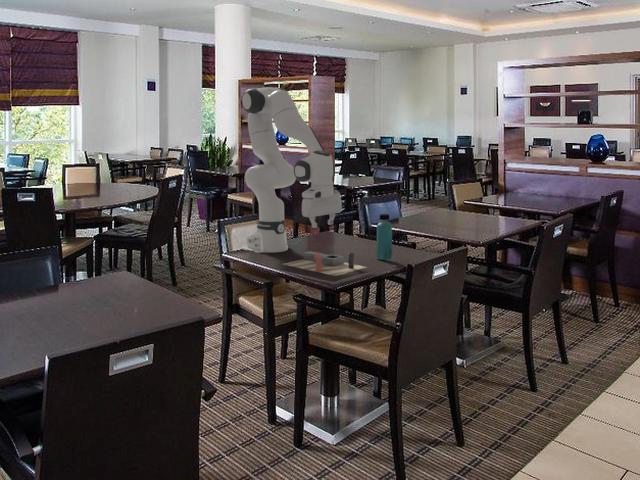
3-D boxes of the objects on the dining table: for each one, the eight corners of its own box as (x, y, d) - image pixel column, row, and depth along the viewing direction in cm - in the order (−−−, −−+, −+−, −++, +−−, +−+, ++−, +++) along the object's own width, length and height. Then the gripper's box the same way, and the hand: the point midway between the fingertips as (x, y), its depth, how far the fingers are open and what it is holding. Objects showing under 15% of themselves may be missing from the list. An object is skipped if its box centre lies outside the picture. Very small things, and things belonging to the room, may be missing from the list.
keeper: (314, 267, 258) (314, 254, 257) (320, 266, 258) (320, 254, 257) (316, 271, 251) (316, 258, 250) (322, 271, 251) (322, 258, 250)
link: (301, 260, 270) (301, 253, 269) (312, 257, 275) (312, 250, 274) (332, 266, 258) (332, 259, 257) (344, 264, 263) (344, 256, 262)
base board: (282, 266, 263) (282, 264, 263) (314, 258, 277) (314, 256, 277) (335, 278, 244) (335, 275, 244) (367, 269, 257) (367, 267, 257)
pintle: (347, 268, 256) (347, 253, 255) (350, 267, 257) (350, 252, 256) (351, 268, 255) (351, 253, 253) (354, 267, 256) (354, 253, 255)
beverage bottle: (391, 263, 267) (392, 215, 264) (375, 263, 269) (375, 215, 265) (392, 260, 274) (393, 213, 270) (377, 259, 275) (377, 212, 271)
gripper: (333, 189, 270) (334, 222, 273) (298, 193, 256) (299, 228, 258) (345, 190, 266) (345, 223, 269) (310, 194, 252) (310, 230, 254)
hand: (322, 225), depth 263 cm, fingers open, 8 cm apart
